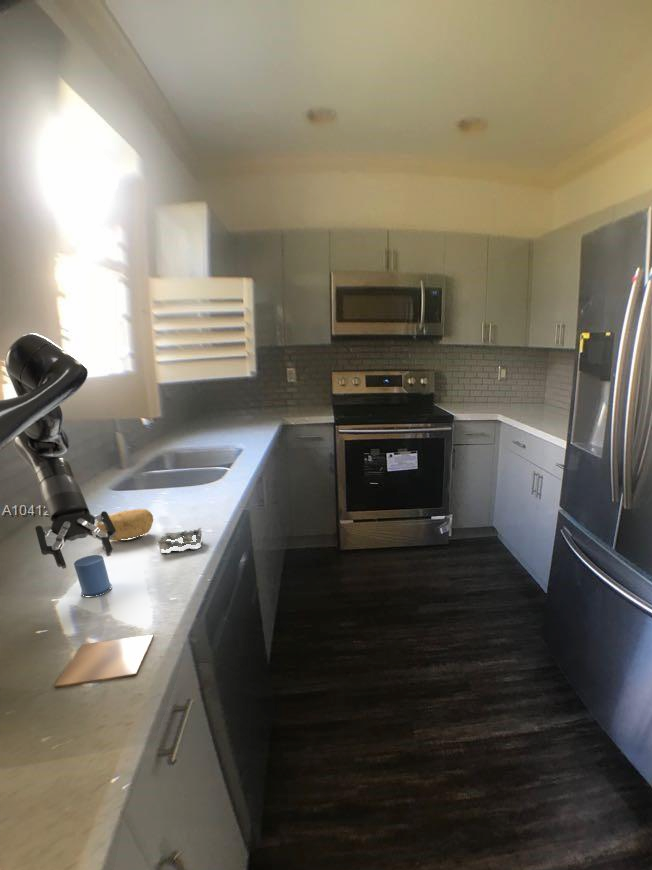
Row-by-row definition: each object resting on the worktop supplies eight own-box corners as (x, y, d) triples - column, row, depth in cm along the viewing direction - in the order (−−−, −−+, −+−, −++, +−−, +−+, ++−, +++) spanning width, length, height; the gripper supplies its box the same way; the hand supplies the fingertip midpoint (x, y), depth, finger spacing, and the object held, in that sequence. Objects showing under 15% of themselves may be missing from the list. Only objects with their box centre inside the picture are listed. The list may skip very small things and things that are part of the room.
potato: (101, 538, 130) (94, 512, 127) (155, 528, 136) (150, 503, 133) (99, 551, 122) (92, 523, 119) (157, 539, 127) (151, 513, 125)
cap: (77, 599, 98) (68, 567, 96) (87, 586, 103) (79, 556, 101) (106, 595, 99) (98, 564, 97) (115, 582, 105) (107, 553, 102)
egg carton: (158, 556, 118) (154, 541, 116) (163, 544, 124) (160, 530, 123) (202, 550, 120) (199, 535, 119) (204, 539, 127) (202, 525, 125)
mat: (54, 687, 72) (54, 685, 72) (82, 646, 82) (82, 644, 82) (136, 675, 74) (135, 673, 74) (153, 636, 85) (153, 634, 84)
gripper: (23, 498, 97) (46, 564, 93) (99, 484, 106) (123, 543, 102) (27, 515, 102) (50, 578, 98) (99, 500, 111) (122, 557, 107)
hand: (87, 560), depth 100 cm, fingers open, 8 cm apart
